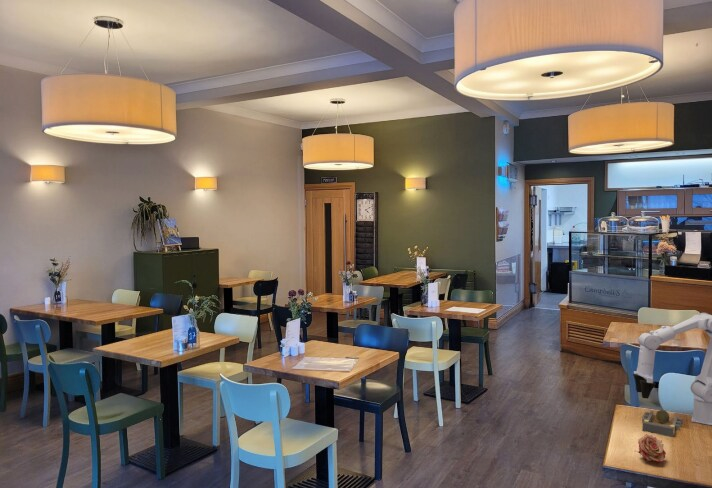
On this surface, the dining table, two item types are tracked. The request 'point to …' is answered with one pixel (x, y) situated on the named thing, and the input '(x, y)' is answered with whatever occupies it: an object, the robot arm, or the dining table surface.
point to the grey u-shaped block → (660, 425)
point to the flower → (651, 448)
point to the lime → (662, 416)
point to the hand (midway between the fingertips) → (642, 395)
